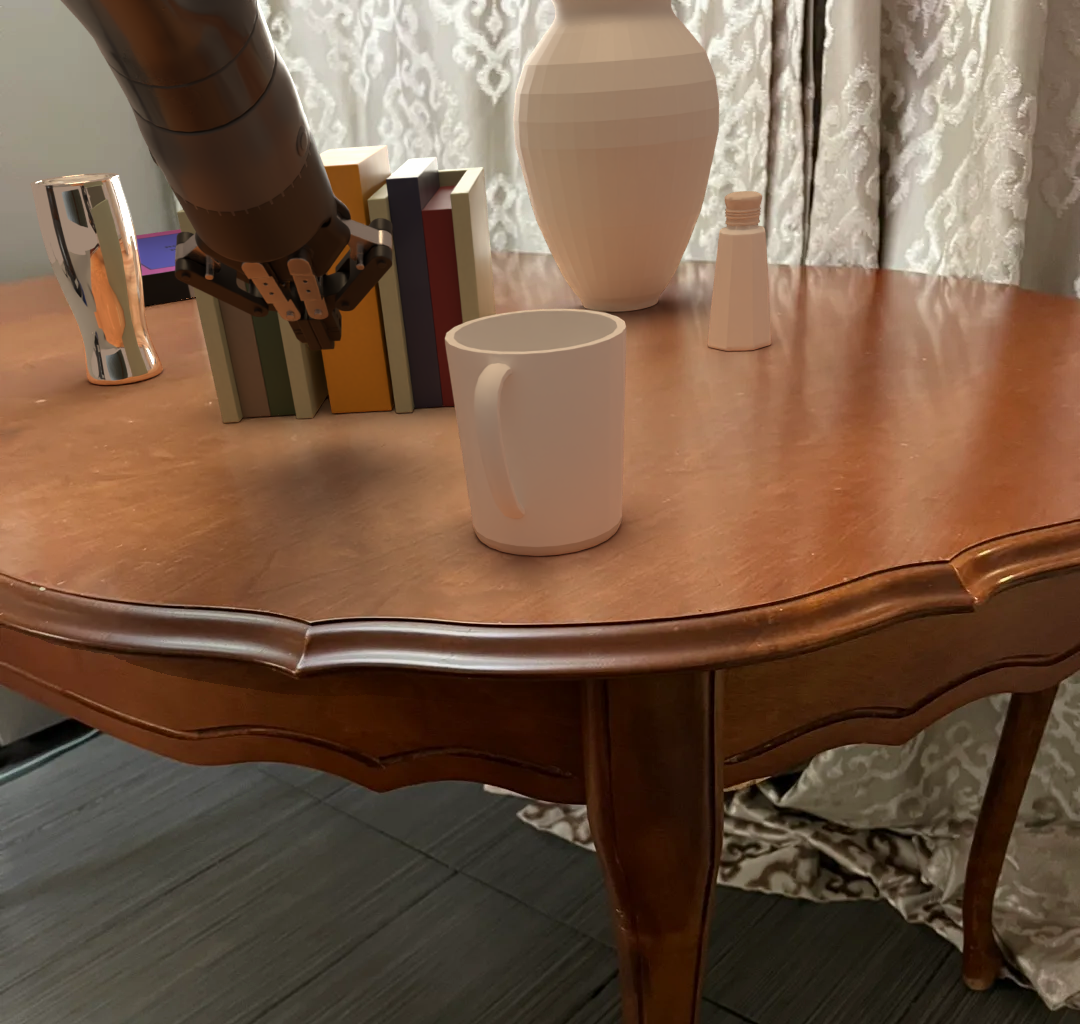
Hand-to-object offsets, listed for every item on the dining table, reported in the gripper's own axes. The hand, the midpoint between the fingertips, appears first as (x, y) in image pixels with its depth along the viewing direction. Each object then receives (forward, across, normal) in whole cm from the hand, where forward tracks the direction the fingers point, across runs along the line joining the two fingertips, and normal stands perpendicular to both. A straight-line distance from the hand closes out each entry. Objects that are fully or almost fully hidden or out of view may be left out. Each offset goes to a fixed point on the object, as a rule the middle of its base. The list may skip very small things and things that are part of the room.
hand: (323, 337), depth 71 cm
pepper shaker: (+19, -29, -9) cm, 36 cm away
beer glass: (+20, +22, -10) cm, 31 cm away
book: (+52, +29, -42) cm, 73 cm away
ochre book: (+14, 0, -4) cm, 14 cm away
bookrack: (+14, 0, -4) cm, 15 cm away
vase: (+31, -20, -21) cm, 43 cm away
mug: (-7, -14, +17) cm, 23 cm away
